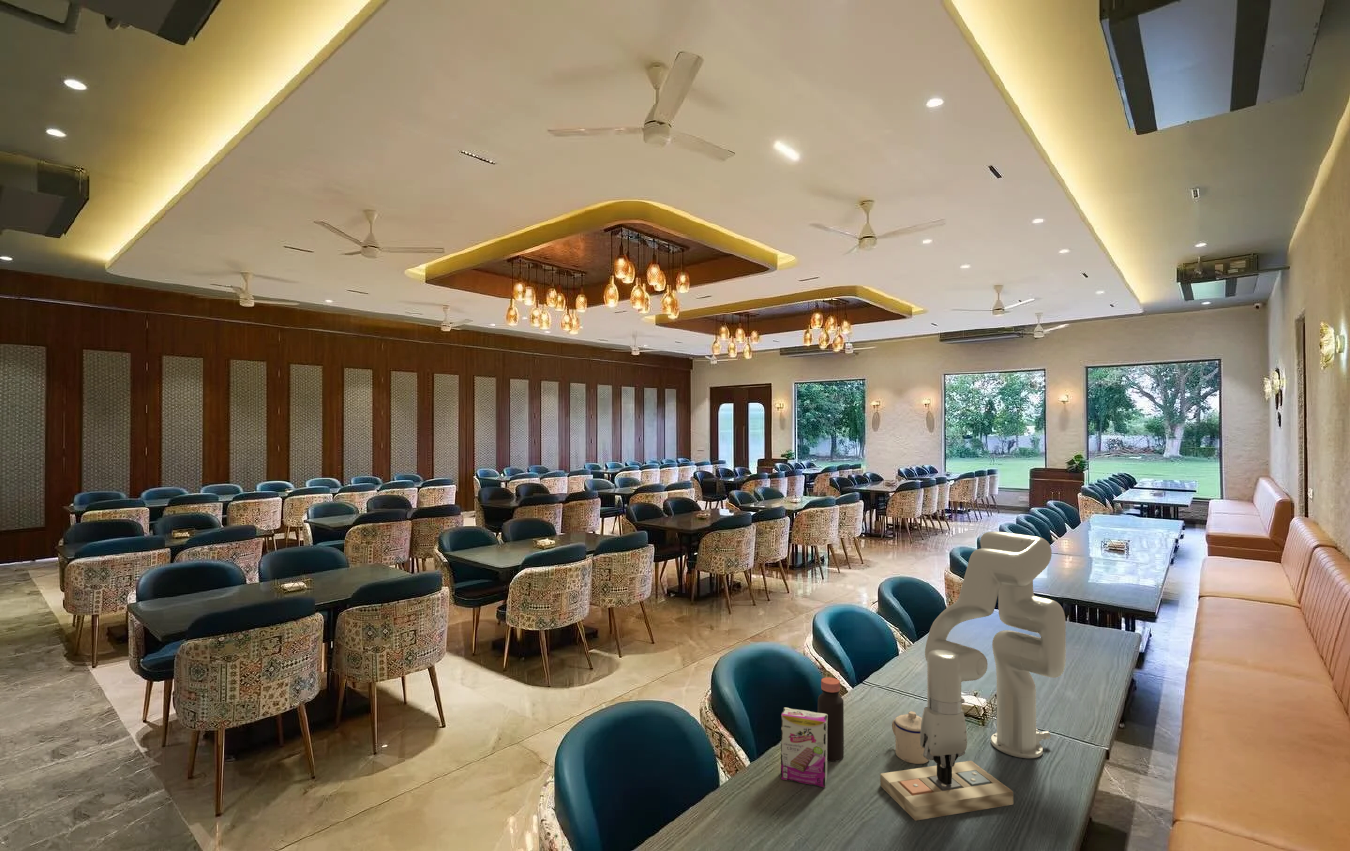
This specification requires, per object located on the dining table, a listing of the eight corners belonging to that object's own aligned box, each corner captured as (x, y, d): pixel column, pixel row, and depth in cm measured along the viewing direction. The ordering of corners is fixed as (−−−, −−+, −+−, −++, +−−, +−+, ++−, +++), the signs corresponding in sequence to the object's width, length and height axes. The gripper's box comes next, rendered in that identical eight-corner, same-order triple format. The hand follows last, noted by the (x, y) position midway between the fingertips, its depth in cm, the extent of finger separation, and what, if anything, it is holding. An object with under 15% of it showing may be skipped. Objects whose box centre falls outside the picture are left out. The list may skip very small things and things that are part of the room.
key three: (947, 786, 150) (947, 773, 150) (961, 798, 146) (961, 785, 146) (929, 789, 149) (929, 776, 149) (942, 801, 144) (942, 787, 144)
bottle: (845, 763, 162) (844, 686, 162) (818, 760, 163) (818, 684, 163) (842, 749, 168) (842, 676, 169) (817, 747, 170) (816, 674, 170)
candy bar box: (780, 780, 154) (780, 714, 154) (783, 770, 158) (783, 706, 158) (826, 789, 150) (825, 721, 150) (828, 778, 155) (827, 712, 155)
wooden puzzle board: (971, 772, 157) (971, 760, 157) (1013, 804, 144) (1013, 791, 144) (880, 785, 151) (880, 773, 151) (915, 820, 138) (915, 807, 138)
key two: (975, 782, 152) (975, 769, 152) (990, 793, 147) (990, 780, 147) (957, 785, 151) (957, 772, 151) (972, 796, 146) (972, 783, 146)
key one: (918, 791, 149) (918, 778, 149) (931, 803, 144) (931, 789, 144) (900, 793, 147) (900, 780, 147) (912, 806, 143) (912, 792, 143)
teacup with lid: (938, 760, 163) (938, 716, 163) (911, 768, 159) (911, 722, 159) (905, 740, 174) (905, 698, 174) (880, 746, 170) (879, 704, 171)
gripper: (960, 694, 153) (960, 769, 153) (907, 700, 150) (907, 776, 149) (982, 707, 146) (982, 786, 145) (926, 714, 142) (926, 794, 142)
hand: (944, 781), depth 147 cm, fingers closed
